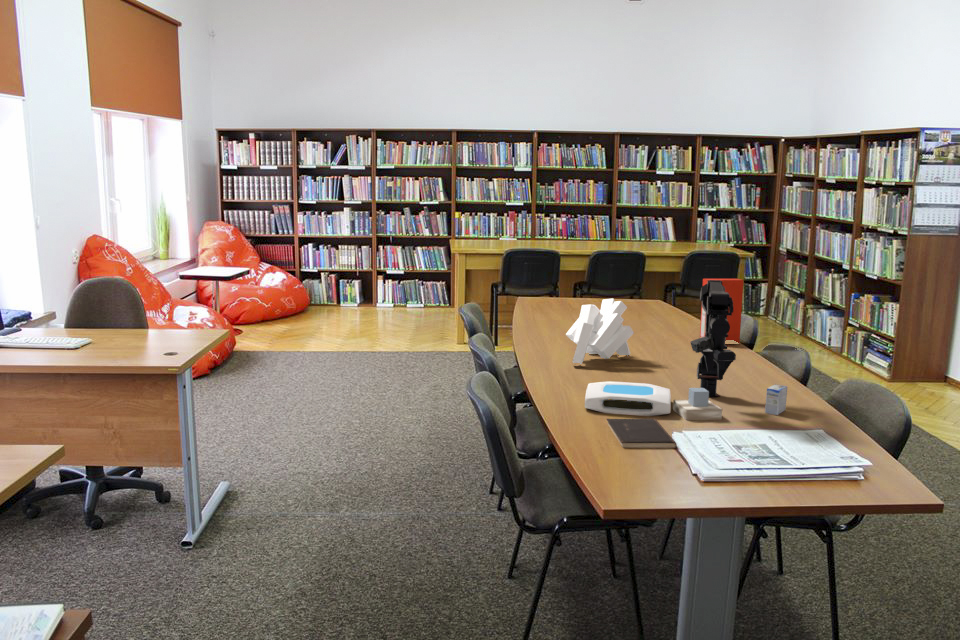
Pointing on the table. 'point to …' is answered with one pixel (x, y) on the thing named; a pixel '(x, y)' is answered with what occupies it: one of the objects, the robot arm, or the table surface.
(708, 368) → the robot arm
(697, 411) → the cream block
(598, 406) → the document scanner
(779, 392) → the medicine box
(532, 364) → the table surface
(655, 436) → the hardcover book
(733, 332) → the file binder
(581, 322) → the pile of blocks
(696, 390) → the grey cube
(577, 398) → the table surface
